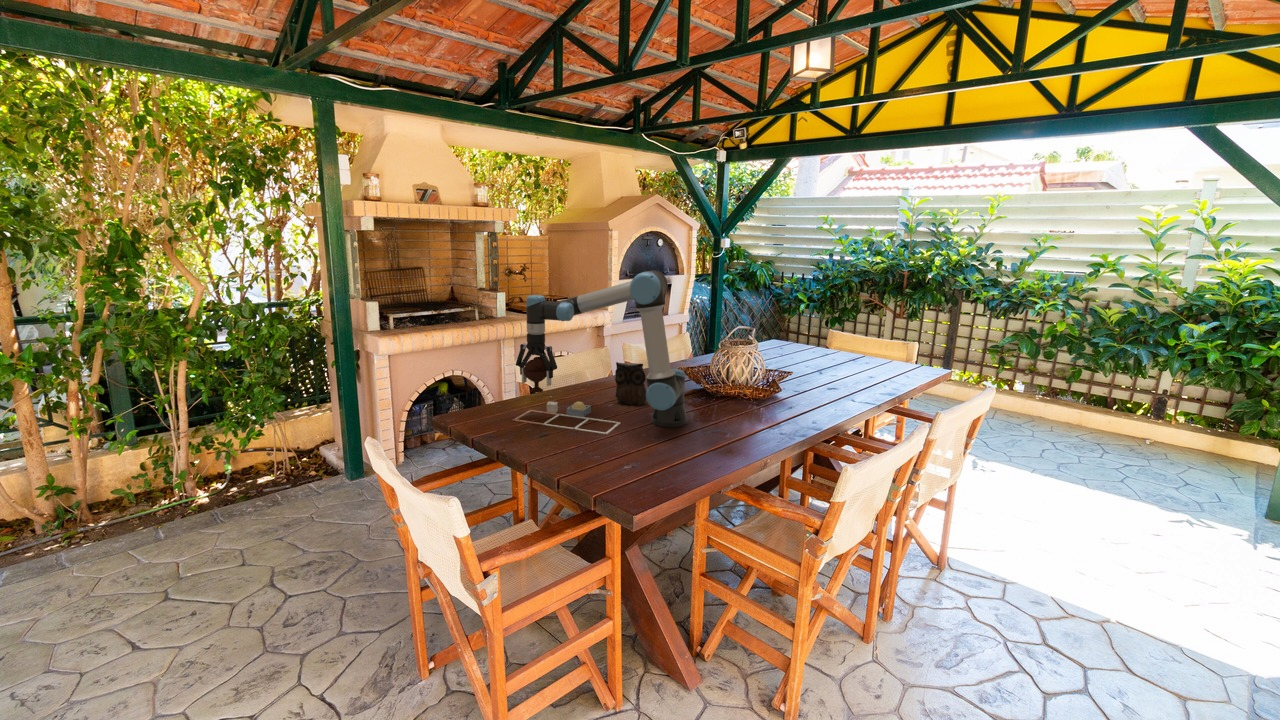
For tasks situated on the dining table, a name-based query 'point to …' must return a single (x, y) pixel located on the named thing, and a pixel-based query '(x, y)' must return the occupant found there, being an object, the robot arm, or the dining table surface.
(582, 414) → the base
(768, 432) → the dining table surface
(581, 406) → the dome
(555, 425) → the track
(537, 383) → the ice cream bowl
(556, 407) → the die
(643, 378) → the owl
